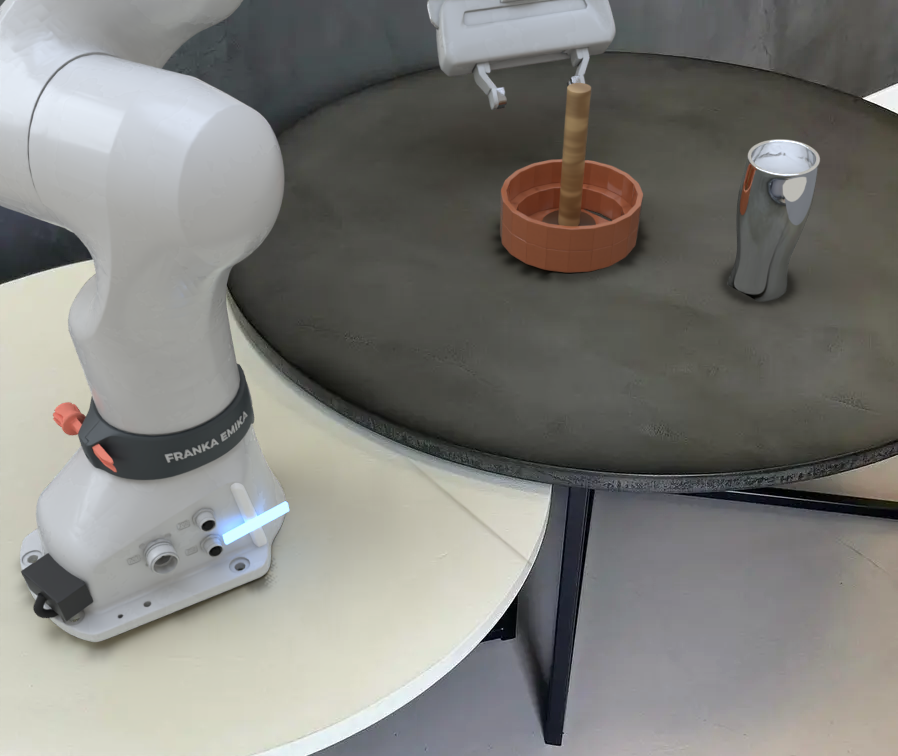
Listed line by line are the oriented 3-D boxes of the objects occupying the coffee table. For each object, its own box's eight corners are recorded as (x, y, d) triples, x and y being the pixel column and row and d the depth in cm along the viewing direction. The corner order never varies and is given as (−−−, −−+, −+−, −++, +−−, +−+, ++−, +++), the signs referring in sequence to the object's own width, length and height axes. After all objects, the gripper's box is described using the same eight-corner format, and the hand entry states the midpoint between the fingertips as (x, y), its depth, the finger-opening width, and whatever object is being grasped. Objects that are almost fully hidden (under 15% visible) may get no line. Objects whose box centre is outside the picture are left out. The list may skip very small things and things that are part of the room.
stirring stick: (567, 255, 108) (579, 106, 96) (530, 233, 111) (536, 86, 99) (605, 236, 110) (622, 88, 98) (568, 215, 113) (579, 70, 102)
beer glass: (791, 311, 101) (824, 178, 90) (721, 306, 102) (745, 174, 91) (789, 271, 105) (820, 139, 94) (722, 267, 106) (745, 136, 95)
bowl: (566, 295, 104) (570, 245, 99) (472, 238, 112) (472, 189, 108) (664, 244, 110) (672, 194, 106) (568, 193, 118) (572, 145, 114)
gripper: (427, -26, 105) (456, 103, 106) (605, -49, 109) (632, 75, 110) (418, 4, 111) (445, 125, 112) (587, -19, 115) (612, 98, 116)
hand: (539, 100), depth 111 cm, fingers open, 8 cm apart
